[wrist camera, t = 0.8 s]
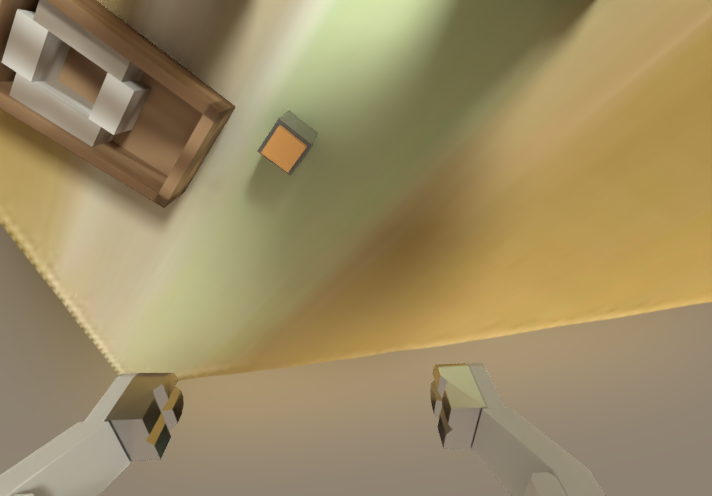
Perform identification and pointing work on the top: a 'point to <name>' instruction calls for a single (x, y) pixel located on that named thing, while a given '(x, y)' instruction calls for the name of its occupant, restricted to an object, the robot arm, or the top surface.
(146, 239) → the top surface
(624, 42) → the top surface
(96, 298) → the top surface
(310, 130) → the block
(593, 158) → the top surface
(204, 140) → the box
